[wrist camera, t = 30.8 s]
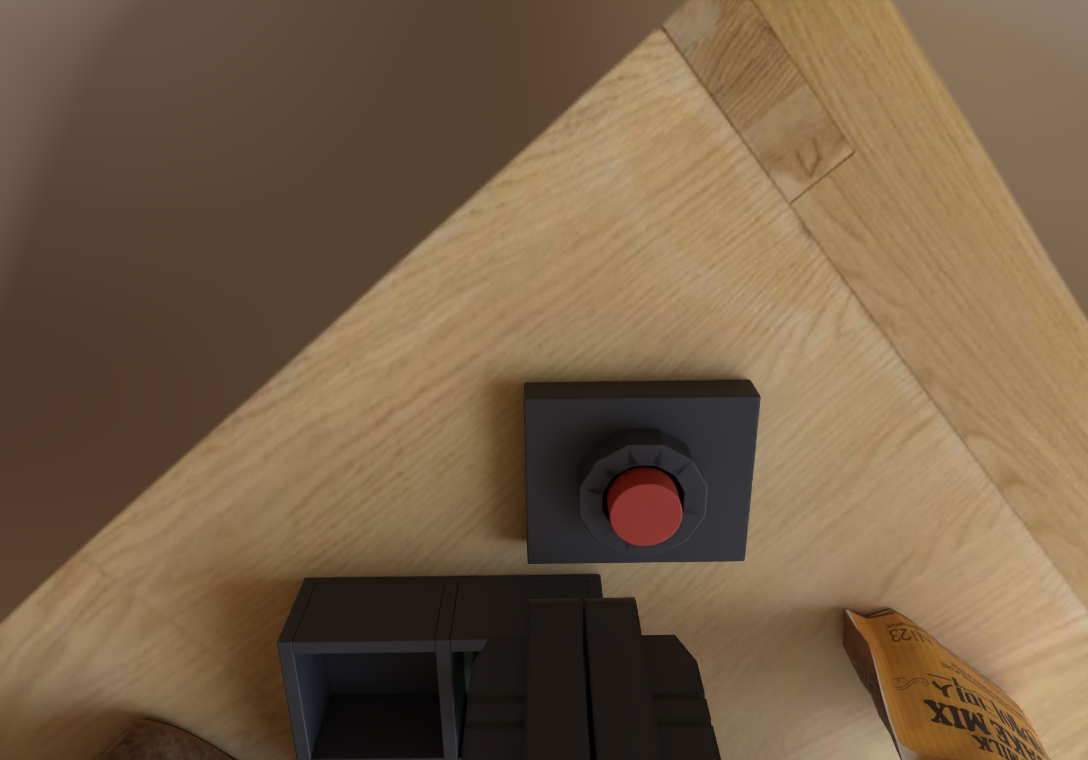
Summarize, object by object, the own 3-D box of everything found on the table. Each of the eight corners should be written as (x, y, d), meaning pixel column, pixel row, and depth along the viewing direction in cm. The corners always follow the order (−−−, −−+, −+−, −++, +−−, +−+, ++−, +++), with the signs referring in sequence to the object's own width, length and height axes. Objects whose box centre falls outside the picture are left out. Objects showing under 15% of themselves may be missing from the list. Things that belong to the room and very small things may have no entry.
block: (528, 541, 48) (527, 584, 44) (524, 382, 44) (522, 414, 40) (736, 539, 48) (752, 581, 44) (750, 379, 44) (770, 411, 40)
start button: (606, 527, 43) (609, 546, 41) (607, 467, 42) (610, 484, 40) (675, 526, 43) (680, 545, 41) (679, 465, 42) (684, 483, 40)
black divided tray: (336, 793, 55) (315, 871, 50) (304, 577, 48) (276, 642, 43) (596, 789, 55) (602, 868, 50) (600, 574, 48) (607, 638, 43)
